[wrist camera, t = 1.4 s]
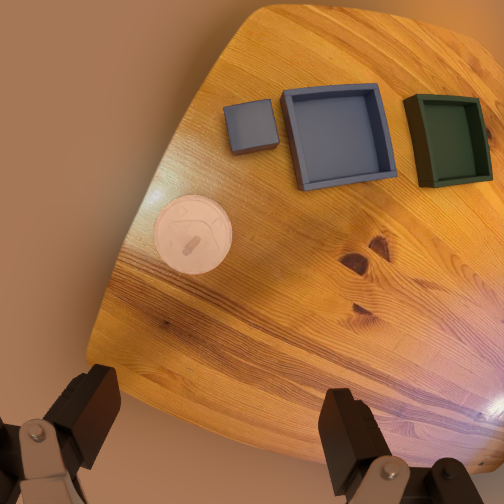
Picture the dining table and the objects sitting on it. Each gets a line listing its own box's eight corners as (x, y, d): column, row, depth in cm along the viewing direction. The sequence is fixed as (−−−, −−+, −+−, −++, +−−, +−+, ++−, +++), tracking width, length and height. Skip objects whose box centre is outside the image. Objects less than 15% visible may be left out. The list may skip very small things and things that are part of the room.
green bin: (402, 100, 29) (416, 93, 26) (463, 102, 29) (478, 98, 25) (419, 186, 32) (434, 188, 28) (477, 179, 31) (493, 180, 28)
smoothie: (221, 258, 33) (203, 310, 20) (170, 234, 33) (120, 269, 19) (247, 206, 32) (245, 224, 19) (193, 181, 31) (153, 181, 18)
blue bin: (279, 99, 29) (283, 90, 26) (366, 91, 29) (377, 83, 26) (298, 190, 32) (304, 191, 28) (384, 176, 31) (397, 176, 28)
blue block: (226, 116, 30) (222, 107, 26) (267, 109, 30) (270, 98, 25) (234, 156, 31) (231, 151, 27) (275, 148, 31) (279, 142, 26)
